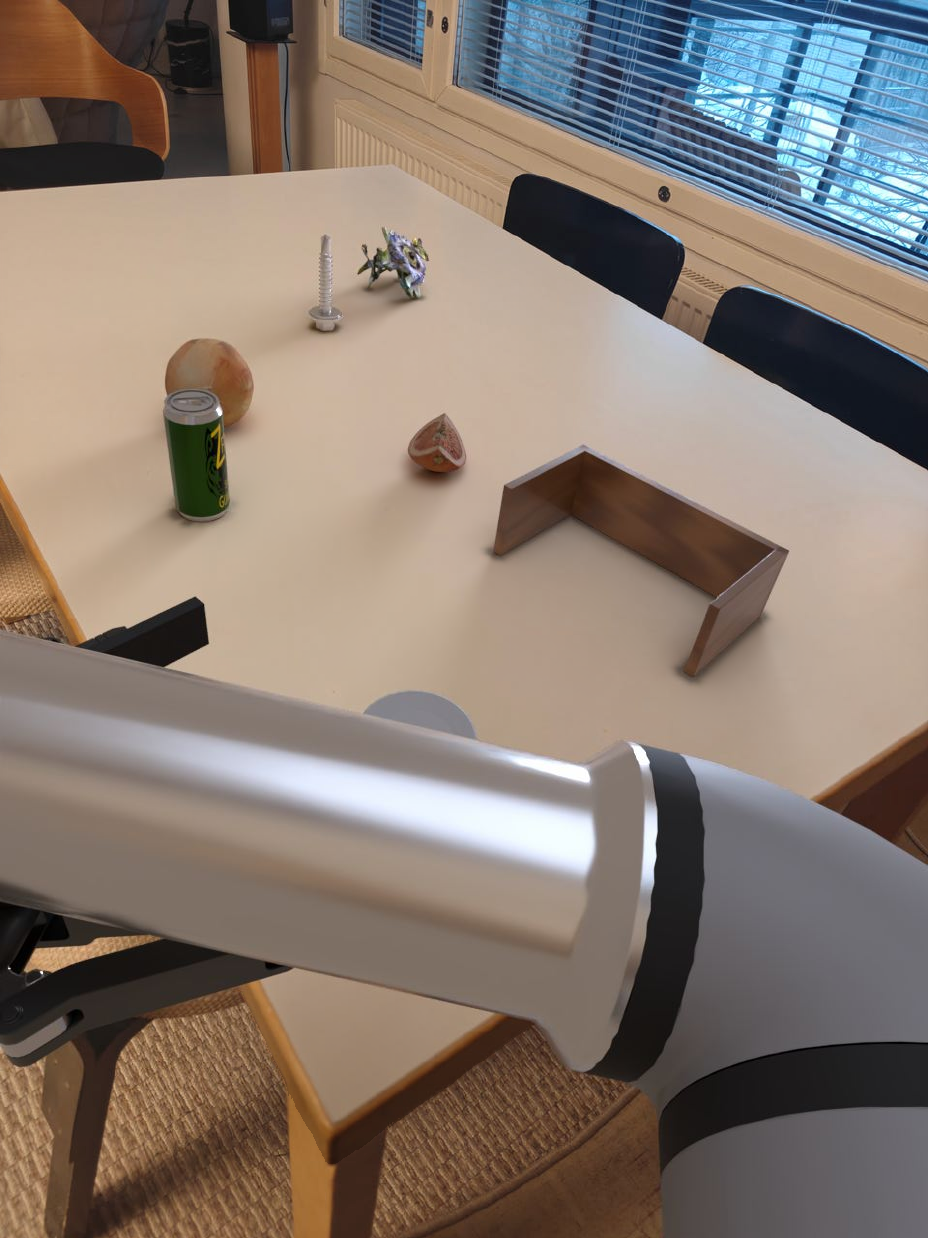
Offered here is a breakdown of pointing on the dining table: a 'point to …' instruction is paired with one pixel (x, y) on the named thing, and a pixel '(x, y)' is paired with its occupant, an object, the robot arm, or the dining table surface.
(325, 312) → the screw
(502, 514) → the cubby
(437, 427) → the fruit slice
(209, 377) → the onion
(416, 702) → the canned food
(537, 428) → the dining table surface
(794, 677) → the dining table surface
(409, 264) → the passion flower
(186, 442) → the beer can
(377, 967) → the robot arm
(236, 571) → the dining table surface
